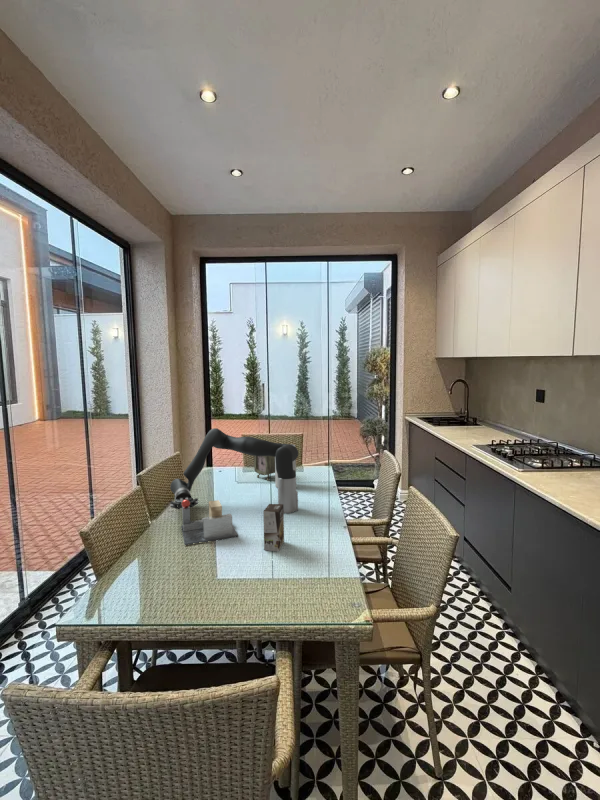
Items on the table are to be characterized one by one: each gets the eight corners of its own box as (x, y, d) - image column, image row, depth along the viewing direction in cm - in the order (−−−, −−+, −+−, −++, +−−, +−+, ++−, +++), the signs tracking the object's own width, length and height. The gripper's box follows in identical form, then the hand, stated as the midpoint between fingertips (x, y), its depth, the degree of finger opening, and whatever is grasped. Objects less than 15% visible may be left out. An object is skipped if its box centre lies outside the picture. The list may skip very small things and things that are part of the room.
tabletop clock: (254, 477, 259) (253, 440, 257) (265, 474, 265) (264, 438, 263) (267, 482, 249) (266, 443, 247) (278, 479, 255) (278, 441, 253)
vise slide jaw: (229, 521, 182) (229, 492, 181) (231, 524, 179) (230, 495, 178) (182, 528, 175) (181, 499, 174) (182, 531, 172) (181, 501, 170)
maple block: (219, 526, 177) (218, 500, 177) (222, 532, 170) (221, 505, 169) (209, 527, 176) (208, 501, 175) (212, 534, 168) (211, 507, 167)
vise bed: (229, 520, 187) (228, 501, 186) (238, 537, 168) (237, 516, 167) (181, 527, 179) (180, 508, 178) (184, 545, 160) (183, 524, 159)
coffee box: (279, 551, 154) (278, 511, 153) (263, 550, 155) (262, 510, 154) (284, 541, 163) (284, 503, 162) (269, 540, 164) (269, 502, 163)
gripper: (168, 491, 188) (169, 502, 172) (196, 487, 193) (200, 498, 177) (169, 506, 189) (170, 519, 173) (197, 502, 193) (201, 515, 177)
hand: (185, 509), depth 175 cm, fingers closed
